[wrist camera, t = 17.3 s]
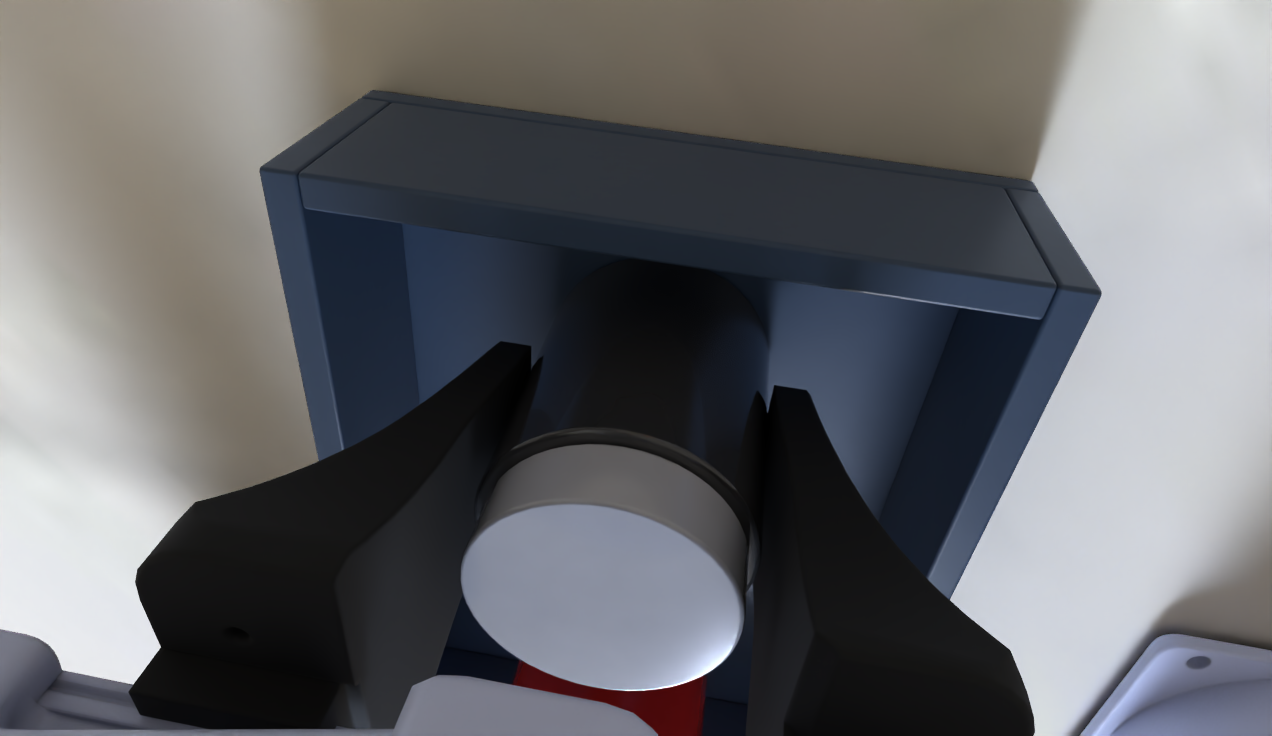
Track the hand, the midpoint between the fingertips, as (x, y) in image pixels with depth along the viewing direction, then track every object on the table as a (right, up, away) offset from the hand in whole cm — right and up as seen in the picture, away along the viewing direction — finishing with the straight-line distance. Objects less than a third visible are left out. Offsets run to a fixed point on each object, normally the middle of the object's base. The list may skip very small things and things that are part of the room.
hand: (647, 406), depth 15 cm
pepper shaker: (0, +1, +2) cm, 2 cm away
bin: (0, -2, +4) cm, 5 cm away
